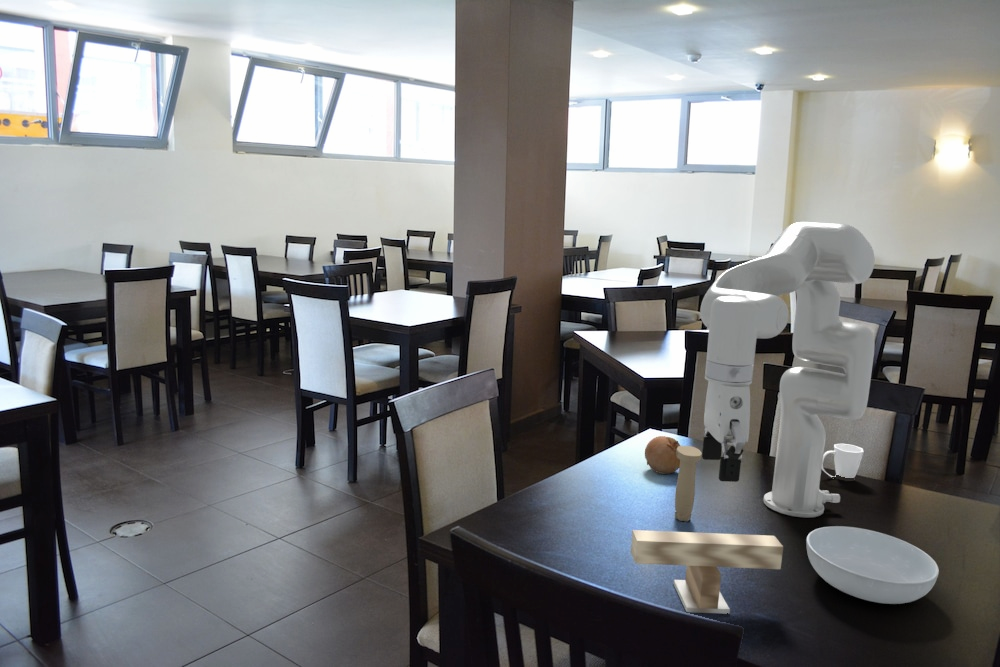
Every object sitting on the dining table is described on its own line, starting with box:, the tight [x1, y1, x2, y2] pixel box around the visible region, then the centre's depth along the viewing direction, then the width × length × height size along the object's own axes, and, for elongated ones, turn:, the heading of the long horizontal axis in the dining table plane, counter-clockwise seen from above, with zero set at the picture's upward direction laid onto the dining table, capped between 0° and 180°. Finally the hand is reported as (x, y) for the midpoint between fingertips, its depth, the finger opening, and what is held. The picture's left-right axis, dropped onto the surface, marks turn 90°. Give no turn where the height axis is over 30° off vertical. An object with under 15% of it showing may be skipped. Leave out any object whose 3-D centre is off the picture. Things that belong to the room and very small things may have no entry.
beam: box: [630, 529, 784, 570], centre depth 124 cm, size 24×4×4 cm, turn 90°
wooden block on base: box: [673, 566, 731, 615], centre depth 125 cm, size 7×9×7 cm
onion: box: [644, 435, 681, 475], centre depth 183 cm, size 10×9×10 cm
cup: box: [821, 442, 865, 478], centre depth 184 cm, size 7×10×8 cm
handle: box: [674, 445, 702, 522], centre depth 155 cm, size 5×6×15 cm
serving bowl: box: [805, 525, 940, 605], centre depth 131 cm, size 21×21×7 cm
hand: (719, 469), depth 126 cm, fingers open, 9 cm apart
